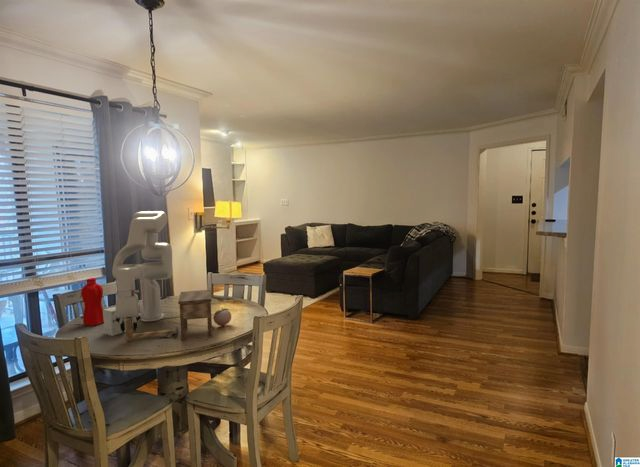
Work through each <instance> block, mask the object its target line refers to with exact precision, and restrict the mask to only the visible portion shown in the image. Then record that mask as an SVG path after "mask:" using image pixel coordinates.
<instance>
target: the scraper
mask: <svg viewBox="0 0 640 467" xmlns="http://www.w3.org/2000/svg"><path fill="white" fill-rule="evenodd" d="M125 324H126V332H125V333H126V341H127V342H131V341H133V340H134V339H135V338H144V337H152V336H153V337H154V336H164V335H166V334H174V336H173V337H174V339H177V338H178V335H179V327H178V326H175V328H174V329H168V330H167V329H164V330H157V331H156V330H154V331H146V332H137V333H135V332H134V329H133V317H125Z"/></svg>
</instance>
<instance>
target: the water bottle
mask: <svg viewBox="0 0 640 467" xmlns="http://www.w3.org/2000/svg"><path fill="white" fill-rule="evenodd" d="M103 294H104V289H103V287H102V285H101V284H99V283H97V279H96V277H90V278H87V279H86V284H85V285H84V286H83V287H82V288H81V291H80V296H81V299H82V301H83V304H84V305H83V306H84V308H83V309H84V310H83V316H82V321H83V325H84V326H90V327H94V325H96V326H99V325H100V324H104V323H103V322H104V319H103V310H104V308H103V306H102V301H103V300H102V299H103Z"/></svg>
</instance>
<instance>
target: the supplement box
mask: <svg viewBox="0 0 640 467" xmlns="http://www.w3.org/2000/svg"><path fill="white" fill-rule="evenodd" d="M115 312H116V305H115V306H112V307H108V308H103V319H104V323H103V329H104V330H103V332H104V334H105V335H107V334H108V336H110V335H111V337H114V336H116V335H117V336H118V335H119V334H123V333H126V322H125V318H126V317H125V318H124V319H123V321H124V323H125V331H124V332H122V330H121V328H120V324H119V322H117V321H116V320H114V319H112V316H113V314H114V313H115Z"/></svg>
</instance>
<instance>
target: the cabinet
mask: <svg viewBox="0 0 640 467" xmlns="http://www.w3.org/2000/svg"><path fill="white" fill-rule="evenodd" d="M177 304H178V305H179V318H180V337H181V338H180V339H181V342H183V341H186V339H187V338H186V330H188V320H189V321H190V320H199V319H206V320H207V323H206V324H207V338H208V339H211V338H213V331H212V330H213V329H212V328H213V327H212V326H213V324H212V323H213V322H212V321H213V320H212V319H213V318H212V289H201V290H188V291H180V294H179V297H178V300H177Z"/></svg>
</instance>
